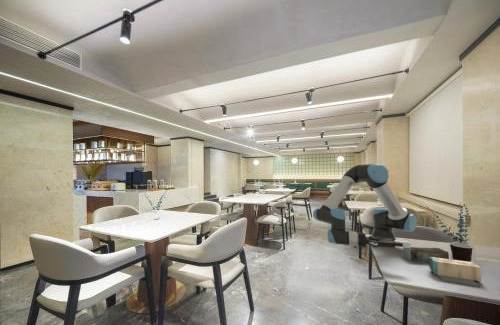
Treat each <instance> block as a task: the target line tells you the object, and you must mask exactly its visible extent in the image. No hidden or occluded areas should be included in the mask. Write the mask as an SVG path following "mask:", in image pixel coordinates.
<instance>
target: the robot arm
mask: <svg viewBox="0 0 500 325" xmlns="http://www.w3.org/2000/svg"><path fill="white" fill-rule="evenodd" d="M389 177H390V175H389V171H388V169H387V167H386V166H385V165H384V164H381V163H367V164H356V165H354V166H352V167H350V168H349V169H348V170H347V171H346V172H345V173H344V174H343V175H342V177H341V181H340V182H339V184H337V185H336V187H335V188H334V189H333V191H332V192H331V193H330V195H329V196H328V198H327V199H326V200H325V201H324V202H323V203H322V205H321V206H320V207H318V208H315V209H313V211H312V216H313V219H315V220H316V221H318V222H322V223H326V224H329V225H330V229H327V242H328V243H330V244H335V245H342V246H343V245H344V246H350V247H352V248H353V247H359V248H366V247H367V245H369V246H373V248H394V249H395V248H396V247H398V248H403V247H404V248H410V247H411V242H410V241H406V240H405V241H404V240H397V239H396V236H395V233H394V231H393V229H395V230H399V231H403V232H408V233H410V232H414V231H415V229H416V228H417V223H418V219H417V216H416V215H415V214H413V213H409V211H408V209H407V208H406V207H403V206H402V205H401V203H400V201H399V200H398V198H397V197H396V196H395V193H394V192H393V191H392V189H391V187H390V186H389V184H388V181H389ZM358 183H366V184H367V186H368V187H369V188H370V189H372V190H373V191H374V192H375V194H376V195H377V197H378V199H379V200H380V201H381V203H382V204H383V207H384V208H383V207H382V208H375V209H373V212H372V217H373V221H372V222H373V229H372V232H371V235H370V236H366V233H365V232H357V231H351V230H350V231H348V230H347V231H346V213H345V210H344V209H341V208H338V206H339V205H340V204H341V202H342V201H343V200H344V198H345V197H346V195H347V194H348V193H349V191H350V190H351V189H352V188H353V187H355V186H356V185H357V184H358Z"/></svg>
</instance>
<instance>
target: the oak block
mask: <svg viewBox="0 0 500 325" xmlns="http://www.w3.org/2000/svg"><path fill="white" fill-rule="evenodd" d="M429 266H430V267H429V270H430V271H431V272H432V273H433V274H434V275H435V276H438V275H443V276H449V277H456V278H463V279H469V280H473V281H477V282H482V274H481V273H482V271H481V267H480V266H479V265H477V264H476V263H475V262H473V261H471V262H467V261H459V260H453V259H450V258H449V259H443V258H435V257H430V263H429Z"/></svg>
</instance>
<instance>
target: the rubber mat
mask: <svg viewBox="0 0 500 325" xmlns="http://www.w3.org/2000/svg"><path fill="white" fill-rule="evenodd" d="M429 268H430V265H429ZM437 276H438V278H439V279H441V281H443V282H447V283H452V284H454V283H455V284H458V285H466V286H470V287H471V286H473V287H478V288H479V287H480V285H479V284H478V283H477V282H475V280H469V279H463V278H456V277H449V276H443V275H437Z"/></svg>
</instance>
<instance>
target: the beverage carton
mask: <svg viewBox="0 0 500 325" xmlns="http://www.w3.org/2000/svg"><path fill="white" fill-rule="evenodd" d="M402 248H403V257H404V258H405V259H407V260H408V261H410V262H411V263H412V262H414V263H417V262H418V263H429V264H430V257H435V258H443V259H450V253H449V252H448V251H447V250H444V249H441V248H440V247H439V248H438V247H417V246H416V247H413V246H410V248H404V247H402Z"/></svg>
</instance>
